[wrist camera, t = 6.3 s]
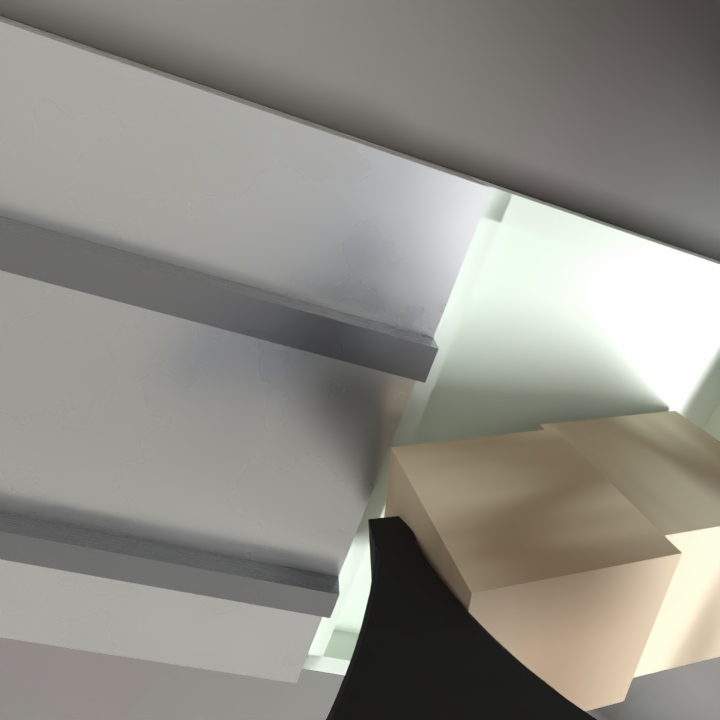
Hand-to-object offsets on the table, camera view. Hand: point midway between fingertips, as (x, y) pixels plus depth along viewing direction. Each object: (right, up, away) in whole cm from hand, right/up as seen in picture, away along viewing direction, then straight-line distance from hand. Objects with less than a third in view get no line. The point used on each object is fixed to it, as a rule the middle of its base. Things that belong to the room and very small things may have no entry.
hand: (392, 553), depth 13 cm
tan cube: (+2, +1, +1) cm, 2 cm away
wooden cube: (+4, 0, +1) cm, 4 cm away
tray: (+4, +1, +4) cm, 5 cm away
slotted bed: (-8, +4, +1) cm, 9 cm away
